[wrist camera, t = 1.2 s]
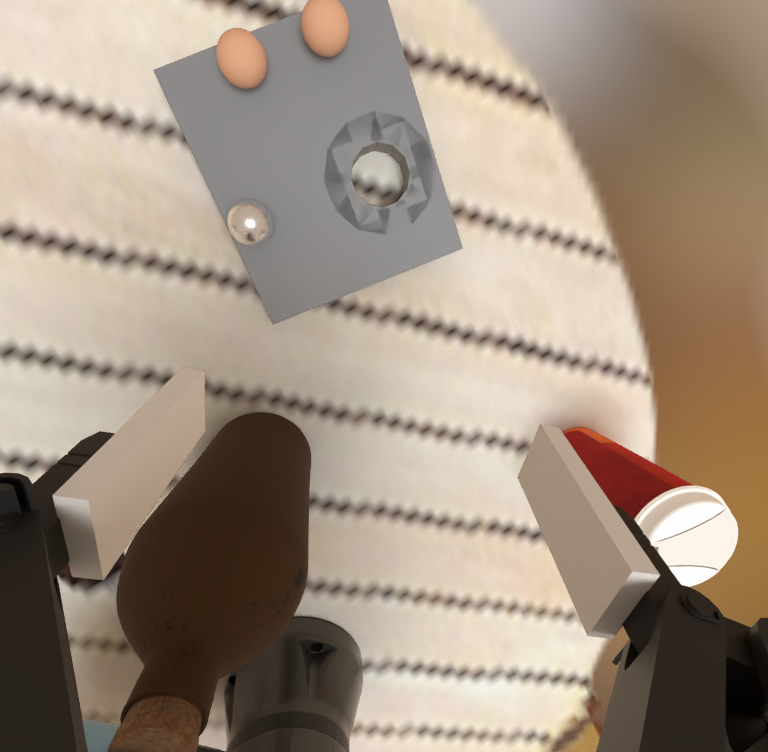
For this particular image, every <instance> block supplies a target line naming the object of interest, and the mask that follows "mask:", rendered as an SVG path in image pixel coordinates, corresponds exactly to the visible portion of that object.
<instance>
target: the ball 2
mask: <svg viewBox="0 0 768 752" xmlns="http://www.w3.org/2000/svg"><path fill="white" fill-rule="evenodd" d="M227 221H228V227H229V230H230V232H231V234H232V235H233V237H234V238H235V239H236V240H237V241H239V242H240V243H242V244H244V245H247V246H258V245H261V244H263V243H265V242H266V241H267V240H268V239H269V238H270V236H271V234H272V231H273V220H272V217H271V215H270V213H269V211H268V210H267V209H266V207H264V206H263V205H262V204H260V203H259V202H256V201H253V200H243V201H240V202H238V203H236V204H235V205H234V206H233V207H232V208H231V209H230V211H229V214H228V219H227Z"/></svg>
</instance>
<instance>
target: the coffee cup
mask: <svg viewBox="0 0 768 752" xmlns="http://www.w3.org/2000/svg"><path fill="white" fill-rule="evenodd" d="M563 434H564V436H565V437H566V438H567V440H568V441H569V443H570V444H571V446H572V447H573V449H574V450H575V452H576V453H577V454H578V456H579V457H580V459H581V460H582V462H583V463H584V465H585V466H586V468H587V469H588V470H589V472H590V473H591V475H592V476H593V478H594V479H595V481H596V482H597V484H598V485H599V487H600V488H601V489H602V491H603V492H604V494H605V495H606V497H607V498H608V500H609V501H610V503H611V504H612V505H616V506H620V507H621V508H622V509H623V510H624V511H626V512H627V513H628V514H629V515H630V516H631V517H632V518H633V519H634V520H635V521H636V523H637V524H638V525H639V527H640V528H641V530H642V531H643V534H645V535H646V537H647V538H648V539H649V541H650V542H651V545H652V546H654V548H655V549H656V550H657V552H658V553H659V555H660V556H661V557H662V559H663V560H664V562H665V563H666V564H667V566H668V567H669V568H670V570H671V571H672V573H673V574H674V575H675V577H676V578H677V580H678V581H679V582H680V584H681V585H684V586H688V587H689V586H693V585H697V584H699V583H701V582H703V581H705V580H707V579H709V578H711V577H712V576H713V575H715V574H716V573H717V572H718V570H720V569H721V568H722V567H723V566H724V565H725V563H726V562H727V561H728V559H729V558H730V557H731V555H732V553H733V551H734V549H735V547H736V544H737V538H738V526H737V523H736V520H735V518H734V517H733V515H732V513H730V510H729V508H728V507H727V505H726V504H725V502H724V501H723V499H722V498H721V497H720V496H719V495H718V494H717V493H715V492H714V491H712V490H710V489H708V488H705V487H701V486H694V485H692V484H690V483H688V482H687V481H685V480H683V479H681V478H679V477H677V476H675V475H674V474H672V473H670V472H668V471H666V470H665V469H663V468H661V467H659V466H657V465H656V464H654V463H652V462H650V461H648V460H646V459H645V458H643V457H641V456H639V455H637V454H635V453H634V452H632V451H630V450H628V449H626V448H624V447H623V446H621V445H619V444H617V443H615V442H613V441H611V440H610V439H608V438H606V437H604V436H602V435H600V434H598V433H596V432H594V431H592V430H590V429H587V428H582V427H577V428H572V429H569V430H567V431H565V432H563Z"/></svg>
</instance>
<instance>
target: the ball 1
mask: <svg viewBox="0 0 768 752" xmlns="http://www.w3.org/2000/svg"><path fill="white" fill-rule="evenodd" d="M216 55H217V61H218V65H219V67H220V69H221V71H222V73H223V75H224V76H225V77H226V78H227V80H228V81H229V82H231V83H232V84H233V85H235V86H237V87H239V88H244V89H250V88H254V87H256V86H258V85H259V84H260V83H261V82H262V81H263V79H264V77H265V75H266V71H267V58H266V54H265V51H264V49H263V46H262V45H261V43H260V42H259V40H258V39H257V38H256V37H255V36H254V35H253V34H252V33H250V32H249V31H247V30H245V29H241V28H232V29H229V30H227V31H226V32H224V33H223V34H222V36H221V37H220V39H219V41H218V44H217V50H216Z"/></svg>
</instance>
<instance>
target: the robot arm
mask: <svg viewBox="0 0 768 752" xmlns="http://www.w3.org/2000/svg"><path fill="white" fill-rule="evenodd" d="M204 432H205V370H202V369H196V368H189V367H182V368H181V369H180V370H179V371H178V372H177V373H176V374H175V375H174V376H173V377H172V378H171V379H170V380H169V381H168V382H167V383H166V384H165V385H164V386H163V387H162V388H161V389H160V390H159V391H158V392H157V393H156V394H155V395H154V396H153V397H152V398H151V399H150V400H149V401H148V402H147V403H146V404H145V405H144V406H143V407H142V408H141V409H140V410H139V411H138V412H137V413H136V414H135V415H134V416H133V417H132V418H131V419H130V420H129V421H128V422H127V423H126V424H125V425H123V426H122V427H121V428H120V429H119V430H118V431H117V432H116V433H108V432H101V431H100V432H98V433H96V434H94V435H92V436H90V437H88V438H86V439H83V440H81V441H80V442H79V443H78V444H77V445H76V446H75V447H74V448H72V449H71V450H70V451H69V452H68V455H65V456H64V457H62V458H61V459H60V460H59V461H58V462H57V465H54V466H52V467H51V468H50V469H49V470H48V471H47V472H46V473H45V474H43V475H42V476H41V477H40V478H39V479H38V480H37V481H36V482H35V483H33V484H32V483H31V481H30V480H29V478H28V477H26V476H24V475H21V474H18V473H1V474H0V752H107V751H108V748H109V746H110V744H111V742H112V739H113V737H114V735H115V733H116V731H117V729H118V728H119V727H120V726H121V725H117V724H111V723H105V722H100V721H94V720H88V719H82V715H81V709H80V703H79V698H78V692H77V686H76V680H75V675H74V669H73V663H72V657H71V652H70V646H69V640H68V635H67V629H66V623H65V617H64V612H63V606H62V600H61V594H60V589H59V583H58V579H57V575H58V574H59V572H60V571H61V570H62V569H63V567H64V566H65V565H66V564H67V562H69V566H70V571H71V575H72V577H79V578H88V579H97V580H104V579H105V577H106V576H107V574H108V573H109V572H110V570H111V569H112V567H113V566H114V564H115V563H116V561H117V560H118V558H119V557H120V555H121V554H122V552H123V551H124V550H125V548H126V547H127V545H128V544H129V542H130V541H131V539H132V538H133V536H134V535H135V533H136V532H137V530H138V529H139V528H140V526H141V525H142V523H143V522H144V520H145V519H146V517H147V516H148V514H149V513H150V511H151V510H152V508H153V507H154V505H155V504H156V503H157V501H158V500H159V498H160V497H161V495H162V494H163V492H164V491H165V489H166V488H167V486H168V485H169V483H170V482H171V481H172V479H173V478H174V476H175V475H176V473H177V472H178V470H179V469H180V467H181V466H182V464H183V463H184V461H185V460H186V458H187V457H188V456H189V454H190V453H191V451H192V450H193V448H194V447H195V445H196V444H197V442H198V441H199V439H200V438H201V436H202V435H203V434H204ZM518 479H519V481H520V484H521V486H522V488H523V490H524V493H525V495H526V497H527V499H528V502H529V504H530V506H531V509H532V511H533V513H534V515H535V518H536V520H537V522H538V524H539V527H540V529H541V531H542V534H543V536H544V538H545V540H546V543H547V545H548V547H549V549H550V552H551V554H552V556H553V559H554V561H555V563H556V565H557V568H558V570H559V572H560V574H561V577H562V579H563V581H564V583H565V586H566V588H567V590H568V593H569V595H570V597H571V599H572V602H573V604H574V606H575V608H576V611H577V613H578V615H579V618H580V620H581V622H582V624H583V627H584V629H585V631H586V633H587V636H593V637H602V638H610V639H613V637H614V636H615V635H616V634H617V633H618V631H619V630H620V629H621V627H622V626H624V628H625V630H626V632H627V634H628V636H629V638H630V639H629V641H628V642H627V643H626V645H625V646H624V647H623V648H622V650H621V651H620V652H619V654H618V655H617V656H616V657H615V659H614V660H613V663H614V664H615V665H617V664H618V662H619V661H620V664H619V668H618V672H617V676H616V679H615V683H614V687H613V691H612V695H611V698H610V702H609V706H608V710H607V713H606V717H605V721H604V724H603V728H602V732H601V736H600V739H599V743H598V747H597V751H596V752H768V618H760V619H759V620H758V621H757V622H756V623H755V624H754V625H753V626H752V627H748V626H746V625H743V624H740V623H738V622H736V621H733V620H730V619H728V618H725V617H723V615H722V614H721V612H720V611H719V609H718V608H717V607H716V606H715V605H714V604H713V603H712V602H711V601H710V600H709V599H708V598H707V597H705V596H704V595H702V594H701V593H700V592H698V591H696V590H694V589H692V588H690V587H688V586H684V585H681V584H680V582H679V581H678V580H677V578H676V577H675V575H674V574H673V573H672V571H671V570H670V568H669V567H668V566H667V564H666V563H665V562H664V560H663V559H662V557H661V556H660V555H659V553H658V552H657V550H656V549H655V548H654V546H652V545H651V542H650V541H649V539H648V538H647V537H646V535H645V534H643V531H642V530H641V528H640V527H639V525H638V524H637V523H636V521H635V520H634V519H633V518H632V517H631V516H630V515H629V514H628V513H627V512H626V511H624V510H623V509H622V508H621V507H620V506H616V505H612V504H611V503H610V501H609V500H608V498H607V497H606V495H605V494H604V492H603V491H602V489H601V488H600V487H599V485H598V484H597V482H596V481H595V479H594V478H593V476H592V475H591V473H590V472H589V470H588V469H587V468H586V466H585V465H584V463H583V462H582V460H581V459H580V457H579V456H578V454H577V453H576V452H575V450H574V449H573V447H572V446H571V444H570V443H569V441H568V440H567V438H566V437H565V436H564V434H563V433H562V431H561V430H560V428H559V427H555V426H548V425H542V424H540V427H539V429H538V431H537V434H536V436H535V438H534V441H533V443H532V445H531V447H530V450H529V452H528V454H527V457H526V459H525V461H524V464H523V466H522V468H521V470H520V473H519V475H518ZM362 683H363V674H362V659H361V654H360V651H359V648H358V646H357V645H356V643H355V641H354V640H353V639H352V638H351V637H350V636H349V635H348V634H347V633H346V632H345V631H344V630H342V629H341V628H339V627H337V626H336V625H333V624H331V623H329V622H326V621H322V620H318V619H313V618H292V620H291V621H290V623H289V625H288V626H287V628H286V629H285V631H284V632H283V634H282V635H281V636H280V637H279V639H278V640H277V641H276V642H275V643H274V644H273V645H272V646H271V647H270V648H269V649H268V650H266V651H265V652H264V653H263V654H262V655H260V656H259V657H257V658H256V659H254V660H253V661H251V662H249V663H248V664H246V665H244V666H242V667H241V668H239V669H237V670H235V671H233V672H231V673H229V674H227V675H226V679H225V684H224V703H225V718H226V733H227V750H226V752H349V740H350V735H351V731H352V727H353V723H354V719H355V715H356V711H357V707H358V703H359V699H360V695H361V690H362ZM196 752H225V751H221V750H219V749H215V748H211V747H206V746H202V745H198V747H197V750H196Z"/></svg>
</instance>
